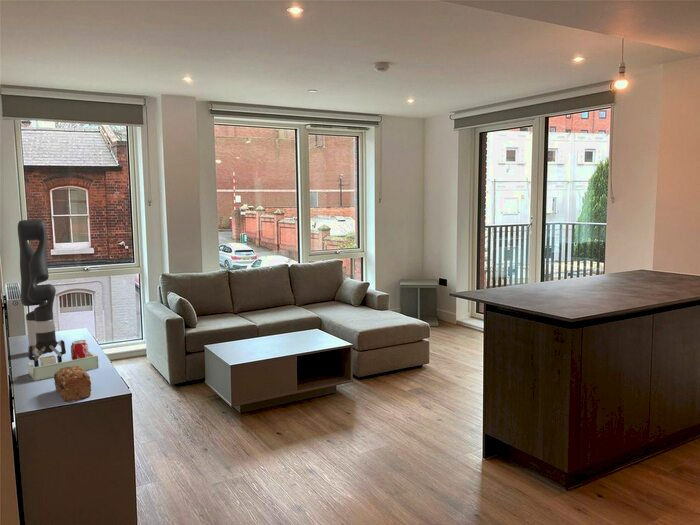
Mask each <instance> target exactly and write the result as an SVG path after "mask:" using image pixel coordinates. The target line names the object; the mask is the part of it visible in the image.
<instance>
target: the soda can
mask: <svg viewBox="0 0 700 525" xmlns="http://www.w3.org/2000/svg"><path fill="white" fill-rule="evenodd" d="M70 355H71V358H70V359H71V360H76V359H81V358H86V357H89V345H88V343H87V340H85V339H80V340H78V339H77V340H74V341H72V342H71V345H70Z"/></svg>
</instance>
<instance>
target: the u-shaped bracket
mask: <svg viewBox="0 0 700 525" xmlns="http://www.w3.org/2000/svg"><path fill="white" fill-rule="evenodd" d="M88 352H89V357H86V358H81V359H76V360H72V359H71V360H66V361H62V362H60V363H58V362H56V363H54V364H49V365H44V366H41V365H40V366H38V367H35V366H33V365H34V364H32V363H31V362H30V361H29V362H27V368H28V375H29V376H30V377H31V378H32V380H33V381H34V382H36V381H41V380H45V379H51V378H54V374H55V373H56V372H57V371H59V370H60V369H61V368H65V367H71V366H79V367H82V368H83V370H84V371H86V372H87V371H90V370H95V369H99V368H100V367H99V357H98V355H96V354H94V352H92V351H89V350H88ZM40 379H41V380H40Z"/></svg>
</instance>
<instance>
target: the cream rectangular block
mask: <svg viewBox="0 0 700 525" xmlns="http://www.w3.org/2000/svg"><path fill="white" fill-rule="evenodd" d="M39 361H40V366H44V365H49V364H54V363H57V356H55V355H54V354H53V353H52V354H47V355H41V356H40V357H39Z"/></svg>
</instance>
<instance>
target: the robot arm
mask: <svg viewBox="0 0 700 525" xmlns="http://www.w3.org/2000/svg"><path fill="white" fill-rule="evenodd" d="M17 236H18V243H19V245H18V246H19V270H20V272H19V273H20V302H21V305H22V306H23V307H24V306H25V307H31V306H33V307H34V306H37V307H35V308H34V310H32V311H30V312H28V313H26V315H25V320H26V329H27V330H26V331H27V340H28V346H27V351H28V354H27V355H28V360H30V361H33V365H34V366H33V367H38V366H39V360H38V359H40V357H41V356H42V355H45V354H51V353H52V354H53V352H54V353H55V354H56V361H57V363H60V362H63V359H62V358H63V355H65V354H66V353H67V351H66V344H65V341H64V340H63V339H61V340H59V341H57V338H56V326H55V324H56V323H55V321H54V311H53V309H54V301H55V298H56V297H55V296H56V291H57V290H56V287H55V286H54V284H51V283H45V282H46V281H47V280H49V269H48V259H47V257H48V256H47V255H48V254H47V253H48V241H47V240H48V239H47V238H48V235H47V226H46V222H45V220H43V219H23V220H19V222H18V223H17ZM29 241H38V245H37V248H36V250H35V248H33V247H32V245H31V244H30V243H29ZM43 282H44V283H45V284H41V283H43ZM57 346H59V347H60V349H61V350H60V351H59V350H57V348H56V347H57ZM33 355H34V356H33Z"/></svg>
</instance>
